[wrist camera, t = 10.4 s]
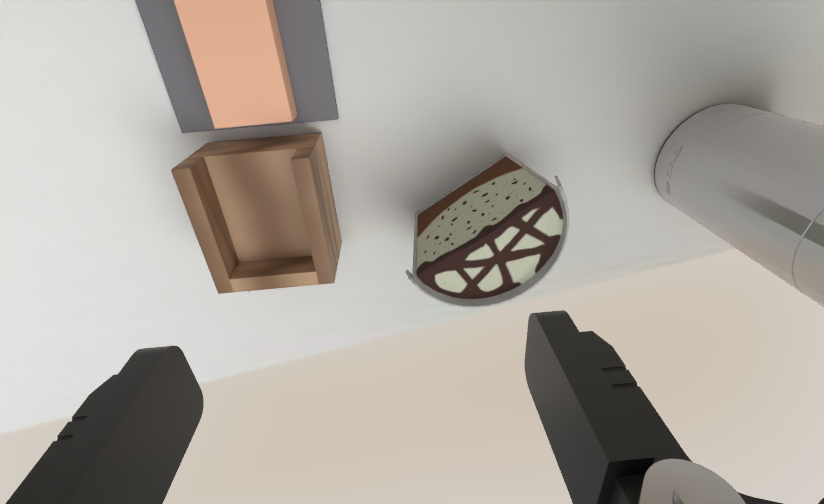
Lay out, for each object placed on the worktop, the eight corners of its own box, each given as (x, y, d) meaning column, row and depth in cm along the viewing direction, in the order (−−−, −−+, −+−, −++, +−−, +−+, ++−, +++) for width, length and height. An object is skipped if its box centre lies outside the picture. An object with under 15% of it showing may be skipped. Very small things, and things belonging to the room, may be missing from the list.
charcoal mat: (304, -97, 25) (303, -98, 25) (338, 118, 32) (337, 119, 32) (110, -81, 25) (106, -83, 25) (184, 131, 32) (182, 132, 32)
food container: (438, 268, 40) (454, 339, 31) (401, 222, 37) (406, 287, 28) (553, 197, 37) (605, 255, 28) (522, 142, 34) (569, 186, 25)
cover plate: (254, -85, 25) (244, -92, 24) (297, 115, 31) (292, 121, 30) (163, -77, 25) (147, -83, 24) (224, 122, 31) (215, 128, 30)
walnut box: (321, 132, 33) (308, 158, 27) (341, 242, 38) (334, 283, 32) (207, 142, 32) (170, 169, 27) (243, 251, 37) (218, 293, 32)
